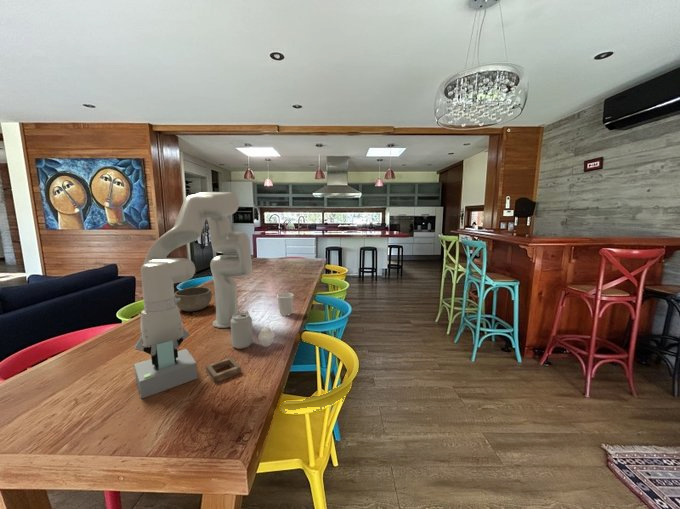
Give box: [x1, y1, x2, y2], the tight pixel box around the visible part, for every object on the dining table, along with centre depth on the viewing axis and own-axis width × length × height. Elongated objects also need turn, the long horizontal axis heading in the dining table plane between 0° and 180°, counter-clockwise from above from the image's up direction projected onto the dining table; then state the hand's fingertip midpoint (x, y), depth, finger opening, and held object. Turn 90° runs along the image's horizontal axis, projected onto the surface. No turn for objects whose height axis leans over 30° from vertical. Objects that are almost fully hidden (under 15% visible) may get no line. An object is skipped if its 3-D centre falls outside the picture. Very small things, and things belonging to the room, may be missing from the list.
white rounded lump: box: [257, 327, 275, 347], centre depth 104 cm, size 6×6×7 cm
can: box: [230, 313, 254, 350], centre depth 103 cm, size 8×8×12 cm
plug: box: [156, 340, 175, 370], centre depth 81 cm, size 4×4×11 cm
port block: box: [133, 348, 199, 400], centre depth 82 cm, size 14×12×5 cm
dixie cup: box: [276, 292, 294, 316], centre depth 136 cm, size 8×8×10 cm
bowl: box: [174, 286, 213, 313], centre depth 144 cm, size 17×18×10 cm
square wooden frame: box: [205, 357, 242, 384], centre depth 86 cm, size 8×8×2 cm
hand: (165, 362), depth 81 cm, fingers closed on plug, 3 cm apart
